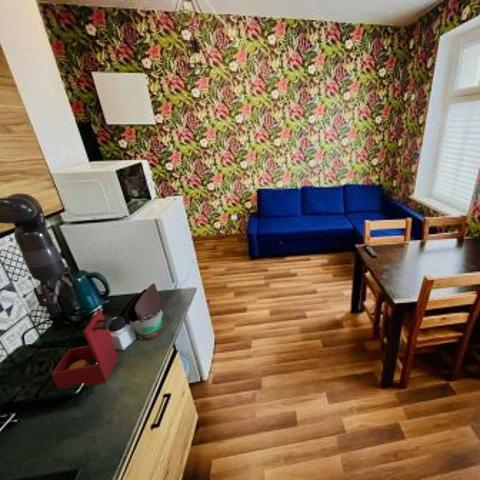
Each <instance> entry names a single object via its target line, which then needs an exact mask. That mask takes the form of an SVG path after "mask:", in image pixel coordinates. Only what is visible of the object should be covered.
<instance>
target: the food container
mask: <svg viewBox="0 0 480 480" xmlns="http://www.w3.org/2000/svg"><path fill="white" fill-rule="evenodd" d="M163 315H164V313H163V311H162V308H160V307H159V308H158V310H157V311H156V312H154V313H152V314H148V315H146V316H144V317H142V318H140V319H138V320H136V321H133V322H131V321H130V326H131V327H133V328H134V330H135V334H136V336H137V338H138V339H139V340H141V341H150V340H154V339H156V338H157V337H159V336H160V335H161V334H162V333H163V332H164V331H163V330H164V328H163V319H162V317H163Z"/></svg>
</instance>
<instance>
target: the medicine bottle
mask: <svg viewBox="0 0 480 480" xmlns="http://www.w3.org/2000/svg"><path fill="white" fill-rule="evenodd" d="M112 318H113V320H112V321H111V323H110V325H109V326H108V329H109V331H110V334H111V336H112V339H113V341H112V342H113V345H114V347H115V350H119V351H124V350H125V349H126V348H127V347H129V346H131V344H132V343H133V342H135V340H136V339H137V338H138V336H137V334H136V332H135V331H134V328H133V327H131V326H130V325H127V324H126V321H125V318H124V317H117V316H115V317H112Z"/></svg>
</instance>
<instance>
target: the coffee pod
mask: <svg viewBox="0 0 480 480" xmlns="http://www.w3.org/2000/svg"><path fill="white" fill-rule="evenodd" d="M84 366H87V365H86V361H85V360H80V361H77V362H75V363H73V364H72V365H71V366H70V367H69V369H74V368H79V367H84Z"/></svg>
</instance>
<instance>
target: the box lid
mask: <svg viewBox="0 0 480 480" xmlns="http://www.w3.org/2000/svg"><path fill="white" fill-rule="evenodd" d="M113 318H114V317H112V316H107V317H106V318H105V316H104V314H103V312H102V309H98V310H97V311H96V313H95V314H94V315H93V317H92V318H91V319H90V321H89V322H88V323H87V325H86V327H85V328H84V329H83V331H82V332H83V334H84V337H85V340H86V341H87V343H88V346H90V348H91V350H92V352H93V355H94V357H95V359H96V361H97V363H98V364H100V363H101V361H102V360H103V358H104V356H105V354H106V352H107V350H108V348H109V347H110V345H111V343H112V341H113V339H112V336H111V334H110V331H109V329H108V326H109V325H110V323H111V321H112V320H113Z"/></svg>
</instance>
